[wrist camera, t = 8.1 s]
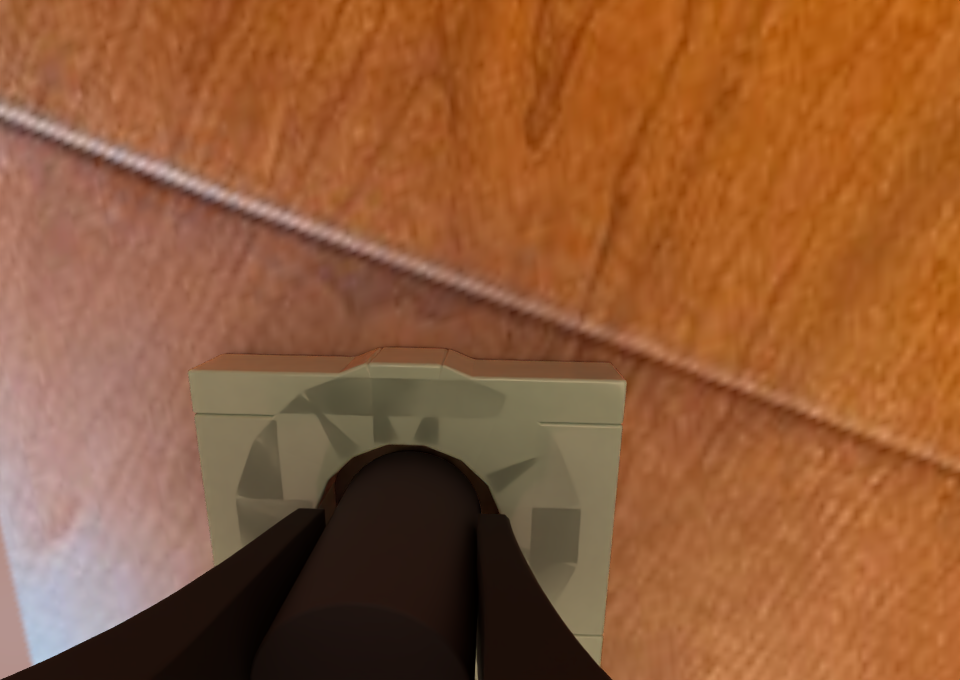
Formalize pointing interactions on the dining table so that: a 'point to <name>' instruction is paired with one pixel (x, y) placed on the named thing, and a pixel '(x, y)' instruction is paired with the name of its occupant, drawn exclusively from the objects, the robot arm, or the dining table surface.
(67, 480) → the dining table surface
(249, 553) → the robot arm
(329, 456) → the plate
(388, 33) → the dining table surface
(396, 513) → the stopper
